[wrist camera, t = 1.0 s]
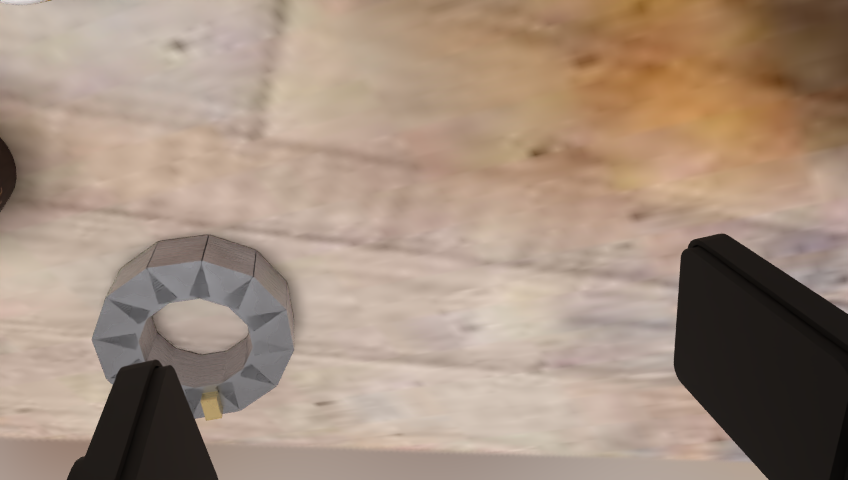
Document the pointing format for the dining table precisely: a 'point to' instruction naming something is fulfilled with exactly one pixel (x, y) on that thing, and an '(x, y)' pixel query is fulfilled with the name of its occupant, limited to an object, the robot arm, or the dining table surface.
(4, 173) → the coffee mug
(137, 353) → the grey faceted ring
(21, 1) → the supplement bottle
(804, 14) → the dining table surface
